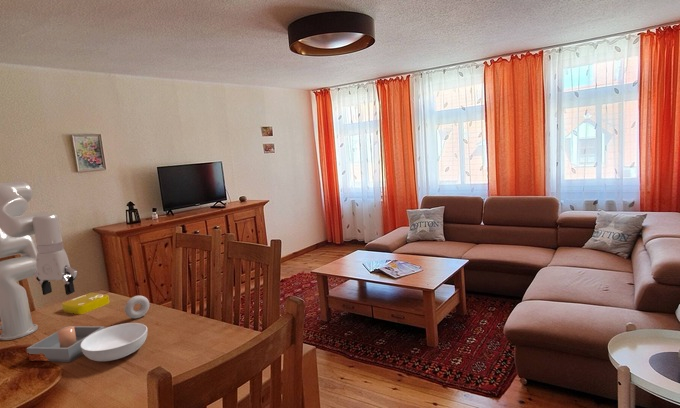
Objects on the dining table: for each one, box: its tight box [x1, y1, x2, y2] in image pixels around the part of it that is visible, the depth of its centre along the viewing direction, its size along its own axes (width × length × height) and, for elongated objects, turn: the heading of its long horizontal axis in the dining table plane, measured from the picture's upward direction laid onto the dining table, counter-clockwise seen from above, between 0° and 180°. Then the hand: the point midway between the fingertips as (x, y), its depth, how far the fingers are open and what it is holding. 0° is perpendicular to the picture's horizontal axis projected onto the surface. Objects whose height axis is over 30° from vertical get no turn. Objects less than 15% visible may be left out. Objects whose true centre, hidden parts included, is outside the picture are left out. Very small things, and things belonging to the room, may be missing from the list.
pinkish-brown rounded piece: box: [56, 325, 77, 348], centre depth 145 cm, size 5×5×7 cm
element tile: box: [61, 292, 110, 315], centre depth 188 cm, size 15×15×5 cm
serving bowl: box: [80, 322, 148, 362], centre depth 139 cm, size 21×21×7 cm
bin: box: [26, 325, 106, 363], centre depth 145 cm, size 17×17×5 cm
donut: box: [124, 295, 150, 320], centre depth 170 cm, size 10×4×10 cm, turn 136°
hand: (59, 293), depth 142 cm, fingers open, 9 cm apart
